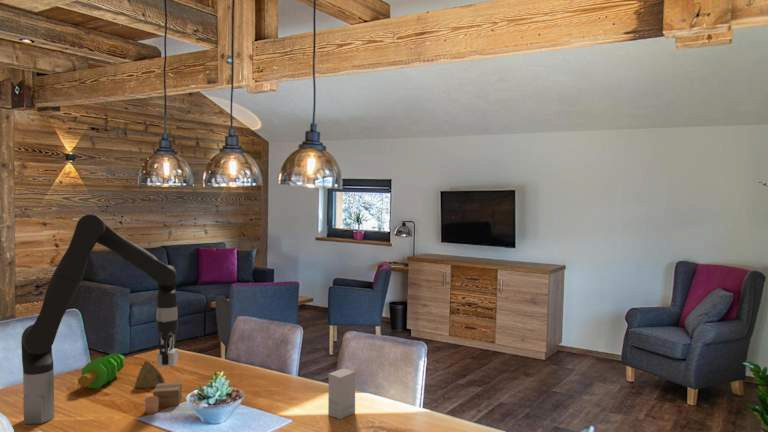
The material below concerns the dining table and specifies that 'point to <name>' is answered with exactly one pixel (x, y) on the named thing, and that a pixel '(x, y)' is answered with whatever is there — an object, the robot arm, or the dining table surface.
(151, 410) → the pinkish tan cube
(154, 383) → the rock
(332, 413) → the skincare box
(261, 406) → the dining table surface
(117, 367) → the decorative tree
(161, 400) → the walnut block
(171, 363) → the grey block
